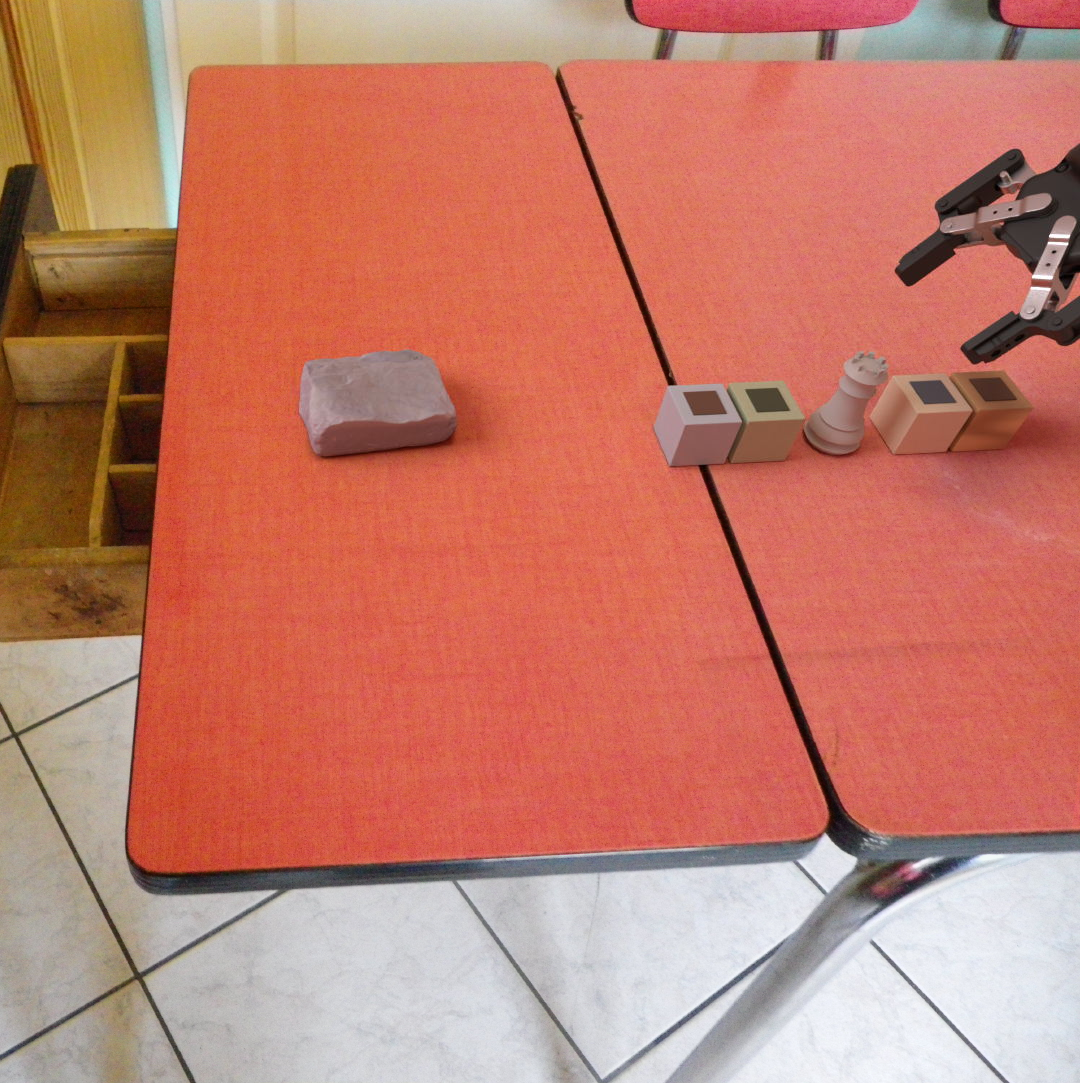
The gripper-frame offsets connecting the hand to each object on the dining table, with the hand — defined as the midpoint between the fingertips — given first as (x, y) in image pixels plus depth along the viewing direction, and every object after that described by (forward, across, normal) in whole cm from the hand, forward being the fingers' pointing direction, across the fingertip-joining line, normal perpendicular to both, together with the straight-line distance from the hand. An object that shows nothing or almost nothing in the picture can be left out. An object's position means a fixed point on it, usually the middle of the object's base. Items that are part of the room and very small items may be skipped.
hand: (932, 316), depth 71 cm
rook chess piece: (+11, 0, +7) cm, 13 cm away
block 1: (+19, -2, -2) cm, 19 cm away
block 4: (+3, +1, +15) cm, 16 cm away
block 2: (+15, -1, +2) cm, 16 cm away
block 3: (+7, 0, +12) cm, 13 cm away
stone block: (+35, -10, -20) cm, 41 cm away
